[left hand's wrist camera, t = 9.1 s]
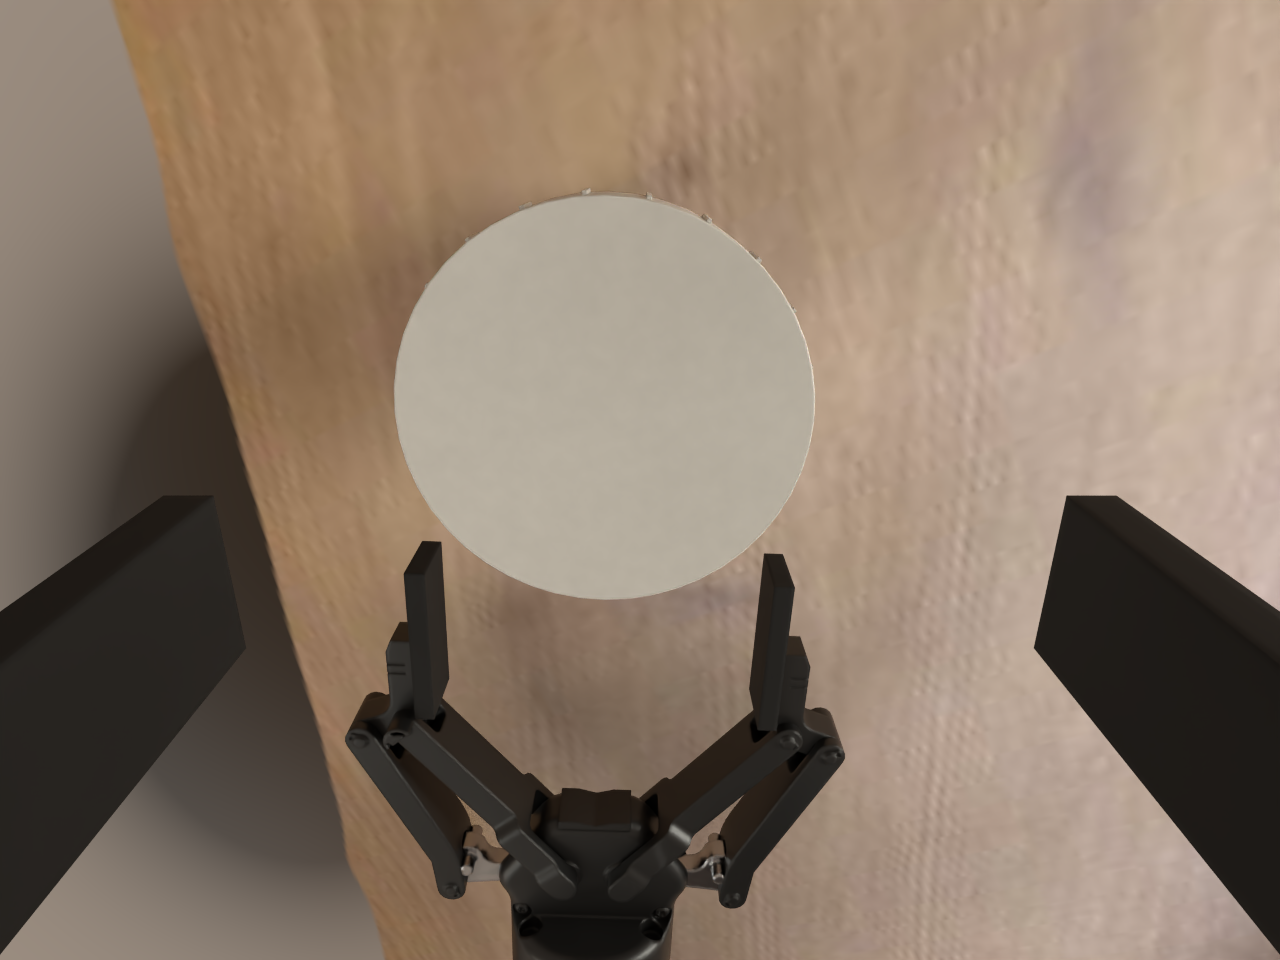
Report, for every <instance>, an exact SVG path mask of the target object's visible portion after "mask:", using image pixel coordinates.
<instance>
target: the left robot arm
mask: <svg viewBox="0 0 1280 960" xmlns="http://www.w3.org/2000/svg"><path fill="white" fill-rule="evenodd" d="M245 649H246V645H245V641H244V636H243V631H242V627H241V622H240V618H239V613H238V608H237V604H236V599H235V594H234V589H233V585H232V580H231V576H230V571H229V566H228V562H227V557H226V552H225V548H224V543H223V538H222V534H221V529H220V524H219V520H218V515H217V511H216V506H215V501H214V497H213V496H162V497H161V498H160V499H158V500H157V501H155V502H154V503H153V504H151V505H150V506H148V507H147V508H146V509H144V510H143V511H141V512H140V513H138V514H137V515H136V516H134V517H133V518H131V519H130V520H129V521H127V522H126V523H124V524H123V525H122V526H120V527H119V528H117V529H116V530H115V531H113V532H112V533H110V534H109V535H107V536H106V537H105V538H103V539H102V540H100V541H99V542H98V543H96V544H95V545H93V546H92V547H91V548H89V549H88V550H86V551H85V552H84V553H82V554H81V555H79V556H78V557H77V558H75V559H74V560H72V561H71V562H70V563H68V564H67V565H65V566H64V567H62V568H61V569H60V570H58V571H57V572H55V573H54V574H53V575H51V576H50V577H48V578H47V579H46V580H44V581H43V582H41V583H40V584H39V585H37V586H36V587H34V588H33V589H32V590H30V591H29V592H27V593H26V594H25V595H23V596H22V597H20V598H19V599H17V600H16V601H15V602H13V603H12V604H10V605H9V606H8V607H6V608H5V609H3V610H2V611H1V612H0V954H1V953H2V952H3V950H4V949H5V948H6V947H7V945H8V944H9V943H10V942H11V940H12V939H13V938H14V937H15V935H16V934H17V933H18V932H19V930H20V929H21V928H22V927H23V925H24V924H25V923H26V922H27V920H28V919H29V918H30V917H31V915H32V914H33V913H34V912H35V910H36V909H37V908H38V907H39V905H40V904H41V903H42V902H43V900H44V899H45V898H46V897H47V895H48V894H49V893H50V892H51V891H52V889H53V888H54V887H55V886H56V884H57V883H58V882H59V881H60V879H61V878H62V877H63V876H64V874H65V873H66V872H67V871H68V869H69V868H70V867H71V866H72V864H73V863H74V862H75V861H76V859H77V858H78V857H79V856H80V854H81V853H82V852H83V851H84V849H85V848H86V847H87V846H88V844H89V843H90V842H91V841H92V839H93V838H94V837H95V836H96V834H97V833H98V832H99V831H100V829H101V828H102V827H103V826H104V824H105V823H106V822H107V821H108V819H109V818H110V817H111V816H112V815H113V813H114V812H115V811H116V810H117V808H118V807H119V806H120V805H121V803H122V802H123V801H124V800H125V798H126V797H127V796H128V795H129V793H130V792H131V791H132V790H133V788H134V787H135V786H136V785H137V783H138V782H139V781H140V780H141V778H142V777H143V776H144V775H145V773H146V772H147V771H148V770H149V768H150V767H151V766H152V765H153V763H154V762H155V761H156V760H157V758H158V757H159V756H160V755H161V753H162V752H163V751H164V750H165V748H166V747H167V746H168V745H169V743H170V742H171V741H172V740H173V739H174V737H175V736H176V735H177V734H178V732H179V731H180V730H181V729H182V727H183V726H184V725H185V724H186V722H187V721H188V720H189V718H190V717H191V716H192V715H193V714H194V712H195V711H196V710H197V709H198V707H199V706H200V705H201V704H202V702H203V701H204V700H205V699H206V697H207V696H208V695H209V694H210V692H211V691H212V690H213V689H214V687H215V686H216V685H217V684H218V682H219V681H220V680H221V679H222V677H223V676H224V675H225V674H226V672H227V671H228V670H229V669H230V667H231V666H232V665H233V664H234V662H235V661H236V660H237V659H238V658H239V656H240V655H241V654H242V652H243V651H244V650H245ZM1034 649H1035V650H1036V651H1037V653H1038V654H1039V655H1040V656H1041V658H1042V659H1043V660H1044V661H1045V663H1046V664H1047V665H1048V666H1049V667H1050V669H1051V670H1052V671H1053V672H1054V674H1055V675H1056V676H1057V677H1058V679H1059V680H1060V681H1061V682H1062V684H1063V685H1064V686H1065V687H1066V689H1067V690H1068V691H1069V692H1070V694H1071V695H1072V696H1073V697H1074V699H1075V700H1076V701H1077V702H1078V704H1079V705H1080V706H1081V707H1082V709H1083V710H1084V711H1085V712H1086V714H1087V715H1088V716H1089V717H1090V719H1091V720H1092V721H1093V722H1094V724H1095V725H1096V726H1097V727H1098V729H1099V730H1100V731H1101V732H1102V734H1103V735H1104V736H1105V737H1106V739H1107V740H1108V741H1109V742H1110V743H1111V745H1112V746H1113V747H1114V748H1115V750H1116V751H1117V752H1118V753H1119V755H1120V756H1121V757H1122V758H1123V760H1124V761H1125V762H1126V763H1127V765H1128V766H1129V767H1130V768H1131V770H1132V771H1133V772H1134V773H1135V775H1136V776H1137V777H1138V778H1139V780H1140V781H1141V782H1142V783H1143V785H1144V786H1145V787H1146V788H1147V790H1148V791H1149V792H1150V793H1151V795H1152V796H1153V797H1154V798H1155V800H1156V801H1157V802H1158V803H1159V805H1160V806H1161V807H1162V808H1163V810H1164V811H1165V812H1166V813H1167V815H1168V816H1169V817H1170V818H1171V819H1172V821H1173V822H1174V823H1175V824H1176V826H1177V827H1178V828H1179V829H1180V831H1181V832H1182V833H1183V834H1184V836H1185V837H1186V838H1187V839H1188V841H1189V842H1190V843H1191V844H1192V846H1193V847H1194V848H1195V849H1196V851H1197V852H1198V853H1199V854H1200V856H1201V857H1202V858H1203V859H1204V861H1205V862H1206V863H1207V864H1208V866H1209V867H1210V868H1211V869H1212V871H1213V872H1214V873H1215V874H1216V876H1217V877H1218V878H1219V879H1220V881H1221V882H1222V883H1223V884H1224V886H1225V887H1226V888H1227V889H1228V891H1229V892H1230V893H1231V894H1232V895H1233V897H1234V898H1235V899H1236V900H1237V902H1238V903H1239V904H1240V905H1241V907H1242V908H1243V909H1244V910H1245V912H1246V913H1247V914H1248V915H1249V917H1250V918H1251V919H1252V920H1253V922H1254V923H1255V924H1256V925H1257V927H1258V928H1259V929H1260V930H1261V932H1262V933H1263V934H1264V935H1265V937H1266V938H1267V939H1268V940H1269V942H1270V943H1271V944H1272V945H1273V947H1274V948H1275V949H1276V950H1277V952H1278V953H1279V954H1280V611H1278V610H1277V609H1275V608H1274V607H1272V606H1271V605H1270V604H1268V603H1267V602H1265V601H1264V600H1263V599H1261V598H1260V597H1258V596H1257V595H1256V594H1254V593H1253V592H1251V591H1250V590H1249V589H1247V588H1246V587H1244V586H1243V585H1241V584H1240V583H1239V582H1237V581H1236V580H1234V579H1233V578H1232V577H1230V576H1229V575H1227V574H1226V573H1225V572H1223V571H1222V570H1220V569H1219V568H1218V567H1216V566H1215V565H1213V564H1212V563H1211V562H1209V561H1208V560H1206V559H1205V558H1203V557H1202V556H1201V555H1199V554H1198V553H1196V552H1195V551H1194V550H1192V549H1191V548H1189V547H1188V546H1187V545H1185V544H1184V543H1182V542H1181V541H1180V540H1178V539H1177V538H1175V537H1174V536H1173V535H1171V534H1170V533H1168V532H1167V531H1165V530H1164V529H1163V528H1161V527H1160V526H1158V525H1157V524H1156V523H1154V522H1153V521H1151V520H1150V519H1149V518H1147V517H1146V516H1144V515H1143V514H1142V513H1140V512H1139V511H1137V510H1136V509H1134V508H1133V507H1132V506H1130V505H1129V504H1127V503H1126V502H1125V501H1123V500H1122V499H1120V498H1119V497H1118V496H1067V497H1066V501H1065V506H1064V510H1063V515H1062V520H1061V524H1060V529H1059V534H1058V538H1057V543H1056V548H1055V552H1054V557H1053V562H1052V566H1051V571H1050V576H1049V580H1048V585H1047V589H1046V594H1045V599H1044V603H1043V608H1042V613H1041V617H1040V622H1039V627H1038V631H1037V636H1036V641H1035V645H1034Z"/></svg>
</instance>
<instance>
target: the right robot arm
mask: <svg viewBox="0 0 1280 960" xmlns="http://www.w3.org/2000/svg"><path fill="white" fill-rule="evenodd" d="M404 584H405V597H406V609H407V622H399V624H398V626H397V628H396V630H395V632H394V634H393V636H392V638H391V640H390V642H389V645H388V647H387V650H386V662H387V672H388V683H389V694H388V695H385V694H383V693H380V692H373V693H370V694H368V695H367V696H366V698H365V699H364V701H363V703H362V705H361V707H360V709H359V711H358V713H357V715H356V717H355V719H354V721H353V723H352V725H351V726H350V729H349V731H348V733H347V735H346V736H345V742H346V744H347V746H348V748H349V749H350V750H351V752H352V753H353V754H354V756H355V757H356V759H357V760H358V761H359V763H360V764H361V765H362V767H363V768H364V770H365V771H366V772H367V774H368V775H369V776H370V778H371V779H372V781H373V782H374V783H375V785H376V786H377V787H378V789H379V790H380V792H381V793H382V794H383V796H384V797H385V798H386V800H387V801H388V803H389V804H390V805H391V807H392V808H393V809H394V811H395V812H396V814H397V815H398V816H399V818H400V819H401V820H402V822H403V823H404V825H405V826H406V827H407V829H408V830H409V831H410V833H411V834H412V835H413V837H414V838H415V840H416V841H417V842H418V844H419V845H420V846H421V848H422V849H423V851H424V852H425V853H426V855H427V856H428V857H429V859H430V860H431V862H432V865H433V870H434V874H435V879H436V883H437V887H438V891H439V893H440V894H441V895H442V896H443V897H445V898H448V899H458V898H460V897H462V896H463V895H464V893H465V890H466V885H467V882H478V881H497V880H500V882H501V884H502V885H503V887H504V888H505V889H506V890H507V892H508V893H509V895H510V898H511V914H512V949H513V960H670V951H671V938H672V925H673V912H674V903H675V901H676V899H677V897H678V896H679V895H680V894H681V893H682V891H683V890H684V888H685V887H692V888H701V889H710V890H718V893H719V901H720V903H721V905H723V906H724V907H726V908H738V907H740V906H742V905H743V904H744V903H745V901H746V898H747V895H748V891H749V887H750V884H751V880H752V877H753V873H754V871H755V870H756V869H757V868H758V867H759V865H760V864H761V863H762V862H763V860H764V859H765V858H766V857H767V855H768V854H769V853H770V852H771V851H772V849H773V848H774V847H775V846H776V844H777V843H778V842H779V841H780V839H781V838H782V837H783V836H784V834H785V833H786V832H787V831H788V830H789V828H790V827H791V826H792V825H793V823H794V822H795V821H796V820H797V818H798V817H799V816H800V815H801V813H802V812H803V811H804V810H805V809H806V807H807V806H808V805H809V804H810V802H811V801H812V800H813V799H814V797H815V796H816V795H817V794H818V792H819V791H820V790H821V789H822V788H823V786H824V785H825V784H826V783H827V781H828V780H829V779H830V778H831V776H832V775H833V774H834V773H835V771H836V770H837V769H838V768H839V767H840V765H841V764H842V763H843V761H844V759H845V753H844V750H843V747H842V744H841V741H840V738H839V735H838V732H837V730H836V727H835V724H834V721H833V718H832V715H831V713H830V712H829V711H828V710H827V709H824V708H814V709H812V710H809V709H806V708H805V701H806V693H807V686H808V679H809V672H810V665H809V662H808V659H807V656H806V653H805V650H804V647H803V644H802V641H801V638H800V636H789V629H790V622H791V614H792V606H793V598H794V590H795V587H794V584H793V581H792V579H791V576H790V573H789V570H788V567H787V565H786V562H785V559H784V556H783V554H764V559H763V568H762V577H761V586H760V595H759V604H758V614H757V623H756V632H755V641H754V650H753V659H752V668H751V677H750V687H749V690H750V695H751V700H752V705H753V709H754V710H753V711H752V712H751V713H749V714H748V715H747V716H746V717H745V718H744V719H742V720H741V721H740V722H739V723H738V724H736V725H735V726H734V727H733V728H732V729H730V730H729V731H728V732H727V733H726V734H725V735H723V736H722V737H721V738H720V739H719V740H717V741H716V742H715V743H714V744H713V745H712V746H710V747H709V748H708V749H707V750H706V751H704V752H703V753H702V754H701V755H700V756H698V757H697V758H696V759H695V760H694V761H693V762H691V763H690V764H689V765H688V766H687V767H685V768H684V769H683V770H682V771H681V772H680V773H678V774H677V775H676V776H675V777H674V778H672V779H668V778H663V779H662V780H660V781H659V782H658V783H657V784H656V785H654V786H653V787H652V788H651V789H650V790H649V791H647V792H646V793H645V794H644V795H643V796H642V797H640V798H637V797H634V796H631V790H610V791H604V792H598V793H595V792H591V791H587V790H583V789H577V788H562V793H561V794H557V795H554V794H552V793H551V792H550V791H549V790H548V789H547V788H546V787H545V786H544V785H543V784H542V783H541V782H540V781H539V780H538V779H537V778H536V777H535V776H534V775H532V774H531V773H527V774H525V775H524V774H522V773H521V772H520V771H519V770H518V769H516V768H515V767H514V766H513V765H512V764H511V763H510V762H509V761H508V760H507V759H506V758H505V757H504V756H503V755H502V754H501V753H500V752H499V751H497V750H496V749H495V748H494V747H493V746H492V745H491V744H490V743H489V742H488V741H487V740H486V739H485V738H484V737H483V736H482V735H481V734H480V733H479V732H477V731H476V730H475V729H474V728H473V727H472V726H471V725H470V724H469V723H468V722H467V721H466V720H465V719H464V718H463V717H462V716H461V715H460V714H458V713H457V712H456V711H455V710H454V709H453V708H452V707H451V706H450V705H449V704H448V703H447V702H446V701H445V700H444V699H443V698H442V697H443V694H444V691H445V689H446V686H447V683H448V680H449V666H448V649H447V632H446V614H445V597H444V580H443V563H442V545H441V542H435V541H422V543H421V544H420V546H419V548H418V550H417V551H416V553H415V555H414V557H413V558H412V560H411V562H410V564H409V565H408V567H407V569H406V571H405V572H404ZM456 795H457V796H458V797H459V798H461V799H462V800H463V801H464V802H465V803H466V804H467V805H468V806H469V807H470V808H472V809H473V810H474V811H475V812H476V813H477V814H478V815H479V816H480V817H482V818H483V819H484V820H485V821H486V822H487V823H488V824H489V825H490V826H492V828H493V829H494V831H495V833H496V837H497V840H498V842H499V844H500V845H501V846H502V847H503V848H496V847H493V846H491V845H490V844H489V843H488V842H487V840H486V839H485V837H484V836H483V835H482V832H483V829H482V827H481V826H479V825H472V826H471V822H470V818H469V816H468V814H467V812H466V810H465V808H464V806H463V805H462V803H461V802H460V800H459V799H458V797H457V796H456ZM743 795H744V796H743ZM741 796H743V797H742V798H741V800H740V801H739V802H738V803H737V805H736V806H735V807H734V809H733V810H732V811H731V813H730V814H729V816H728V817H727V818H726V820H725V822H724V824H723V826H722V829H721V832H720V835H719V834H717V833H712V834H710V835H709V837H708V843H706V844H705V845H704V847H703V849H702V850H701V851H700V852H698V853H696V854H692V855H687V854H686V852H685V851H686V850H687V849H688V847H689V845H690V843H691V840H692V837H693V836H694V835H695V834H696V833H697V832H698V831H699V830H701V829H702V828H703V827H704V826H706V825H707V824H708V823H709V822H710V821H712V820H713V819H714V818H715V817H717V816H718V815H719V814H720V813H722V812H723V811H724V810H725V809H727V808H728V807H729V806H730V805H732V804H733V803H734V802H735V801H736V800H738V799H739V798H740V797H741ZM531 814H532V815H531Z"/></svg>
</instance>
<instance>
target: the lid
mask: <svg viewBox="0 0 1280 960" xmlns="http://www.w3.org/2000/svg"><path fill="white" fill-rule="evenodd" d="M519 209H520V210H519V211H517V212H515V213H513V214H511V215H509V216H507V217H505V218H503V219H501V220H499V221H497V222H495V223H493V224H491V225H490V226H488V227H487V228H485V229H484V230H483V231H481V232H478V233H476V234H473V235H471V236H469V237H467V238H466V239H465V241H466V243H465V244H464V245H463V246H462V247H461V248H459V249H458V250H457V251H456V252H455V253H454V254H453V255H452V256H451V257H450V258H449V259H448V260H447V261H446V262H445V263H444V264H443V265H442V267H441V268H440V269H439V270H438V272H437V273H436V274H435V275H434V277H433V278H432V279H431V280H430V282H428V283H426V285H425V290H424V291H423V293H422V295H421V296H420V298H419V300H418V302H417V303H416V305H415V307H414V309H413V311H412V313H411V316H410V318H409V321H408V323H407V326H406V328H405V331H404V333H403V337H402V341H401V345H400V349H399V353H398V357H397V362H396V371H395V381H394V407H395V418H396V424H397V430H398V436H399V441H400V444H401V447H402V450H403V454H404V457H405V460H406V463H407V466H408V468H409V470H410V472H411V474H412V477H413V479H414V481H415V483H416V485H417V488H418V489H419V491H420V493H421V494H422V496H423V497H424V499H425V501H426V502H427V504H428V505H429V507H430V509H431V510H432V511H433V513H434V514H435V515H436V516H437V518H438V519H439V520H440V521H441V523H442V524H443V525H444V526H445V527H446V529H447V530H448V531H449V532H450V533H451V534H452V535H453V536H454V537H455V538H456V539H457V540H458V541H459V542H461V543H462V544H463V545H464V546H465V547H466V548H467V549H468V550H470V551H471V552H472V553H474V554H475V555H476V556H478V557H479V558H480V559H481V560H483V561H484V562H485V563H487V564H489V565H490V566H492V567H494V568H495V569H497V570H499V571H501V572H502V573H504V574H506V575H507V576H509V577H512V578H514V579H516V580H519V581H521V582H523V583H525V584H528V585H530V586H533V587H536V588H539V589H542V590H545V591H549V592H552V593H555V594H561V595H566V596H571V597H576V598H586V599H599V600H614V599H632V598H638V597H644V596H651V595H656V594H659V593H663V592H666V591H670V590H674V589H677V588H680V587H682V586H685V585H687V584H690V583H692V582H695V581H697V580H699V579H702V578H703V577H705V576H707V575H709V574H711V573H712V572H714V571H716V570H718V569H720V568H721V567H723V566H724V565H726V564H727V563H729V562H730V561H731V560H733V559H734V558H735V557H737V556H738V555H740V554H741V553H742V552H744V551H745V550H746V549H747V548H748V547H749V546H750V545H751V544H752V543H753V542H754V541H755V540H756V539H757V538H759V537H760V536H761V535H762V533H763V532H764V531H765V530H766V529H767V527H768V526H769V525H770V524H771V523H772V521H773V520H774V519H775V518H776V517H777V515H778V514H779V512H780V511H781V509H782V508H783V506H784V504H785V503H786V501H787V500H788V498H789V497H790V495H791V493H792V491H793V489H794V487H795V485H796V482H797V480H798V478H799V476H800V474H801V472H802V469H803V466H804V463H805V459H806V456H807V453H808V450H809V447H810V441H811V435H812V430H813V424H814V408H815V389H814V380H813V370H812V369H813V365H812V364H811V360H810V356H809V352H808V348H807V344H806V340H805V338H804V335H803V333H802V330H801V328H800V325H799V323H798V320H797V317H796V315H795V312H796V310H795V308H794V307H793V306H792V305H791V304H790V303H789V302H788V301H787V299H786V297H785V296H784V294H783V292H782V290H781V289H780V288H779V286H778V285H777V284H776V283H775V281H774V280H773V279H772V277H771V276H770V275H769V273H768V272H767V271H766V269H765V268H764V267H763V266H762V265H761V264H760V262H761V261H762V260H761V259H760V258H759V257H758V256H757V255H756V254H755V253H754V252H752V251H750V252H748V251H747V250H746V249H745V248H744V247H743V246H741V245H740V244H739V243H738V242H737V241H736V240H735V239H733V238H732V237H731V236H729V235H728V234H727V233H725V232H724V231H723V230H721V229H720V228H719V227H717V226H716V225H715V224H713V223H712V219H711V218H710V217H708V216H707V215H705V214H703V216H702V217H701V216H699V215H697V214H695V213H694V212H692V211H690V210H688V209H685V208H683V207H680V206H678V205H675V204H672V203H670V202H667V201H665V200H661V199H657V198H653V197H652V194H651V193H649V192H647V193H646V196H644V195H640V194H634V193H623V192H612V191H602V192H591V191H590V188H586V189H584V190H582V193H576V194H571V195H566V196H560V197H555V198H552V199H549V200H546V201H543V202H540V203H537V204H534V205H532V203H531V202H528V203H526V204H523V205H521V206H519Z"/></svg>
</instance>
